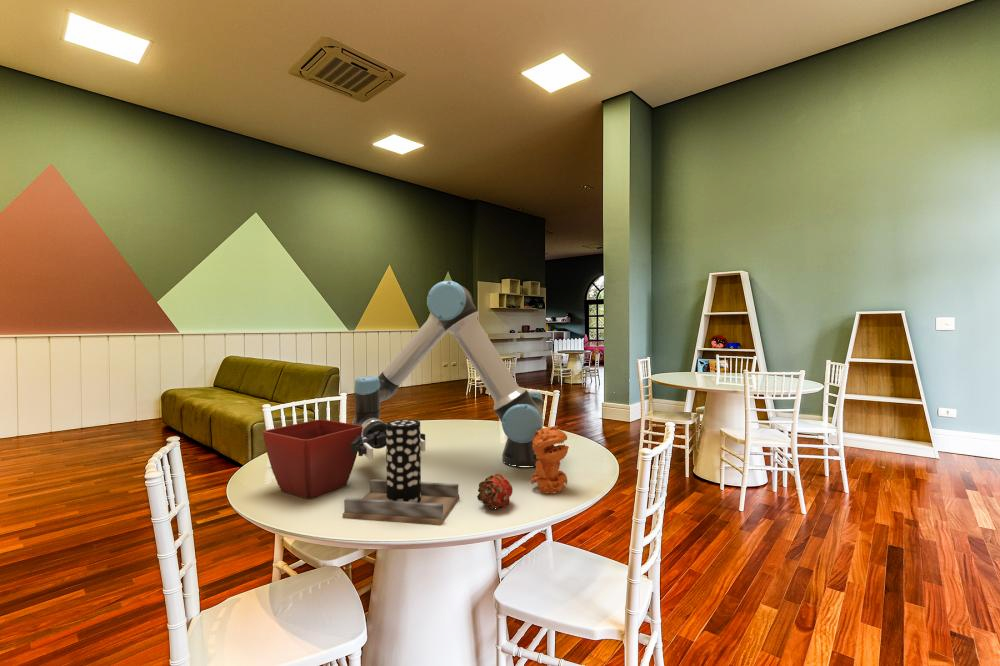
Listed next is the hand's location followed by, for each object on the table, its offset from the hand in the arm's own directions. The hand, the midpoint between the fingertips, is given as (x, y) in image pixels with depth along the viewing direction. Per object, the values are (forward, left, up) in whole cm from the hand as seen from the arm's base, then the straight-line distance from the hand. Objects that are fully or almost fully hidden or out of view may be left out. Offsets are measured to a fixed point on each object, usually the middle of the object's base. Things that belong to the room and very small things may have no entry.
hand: (398, 450), depth 115 cm
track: (-2, +2, -14) cm, 14 cm away
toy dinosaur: (-37, -16, -14) cm, 43 cm away
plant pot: (+28, -7, -14) cm, 32 cm away
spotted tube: (-2, +2, -13) cm, 13 cm away
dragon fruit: (-24, -3, -14) cm, 28 cm away
